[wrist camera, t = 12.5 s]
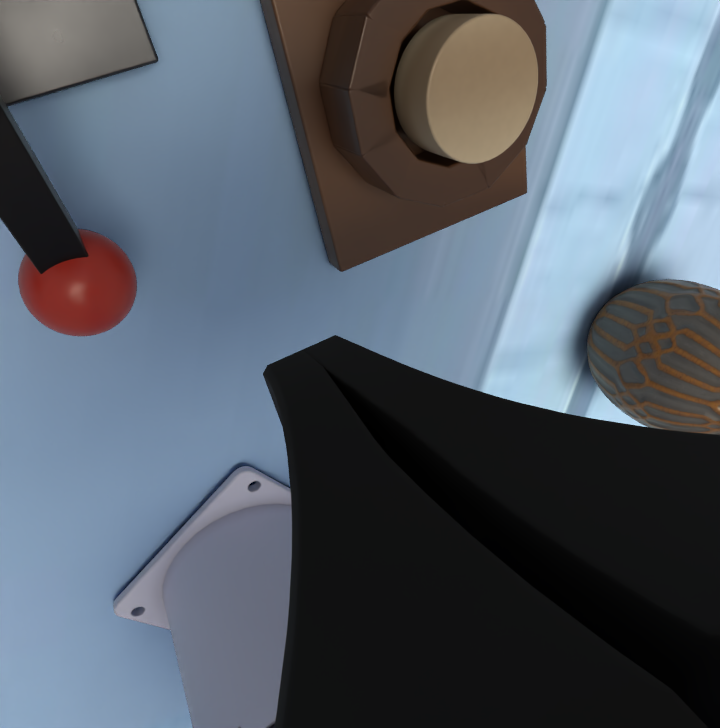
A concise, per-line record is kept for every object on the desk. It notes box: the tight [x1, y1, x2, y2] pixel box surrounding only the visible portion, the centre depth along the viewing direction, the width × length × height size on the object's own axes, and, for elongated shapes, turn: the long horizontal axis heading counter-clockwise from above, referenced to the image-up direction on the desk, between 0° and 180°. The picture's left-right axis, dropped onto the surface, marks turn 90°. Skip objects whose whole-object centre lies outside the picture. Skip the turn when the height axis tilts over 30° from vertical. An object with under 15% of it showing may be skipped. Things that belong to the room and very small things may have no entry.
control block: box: [260, 0, 547, 272], centre depth 17 cm, size 10×8×3 cm
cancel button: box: [394, 14, 538, 164], centre depth 16 cm, size 4×4×2 cm
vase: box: [587, 279, 720, 435], centre depth 26 cm, size 7×7×9 cm
